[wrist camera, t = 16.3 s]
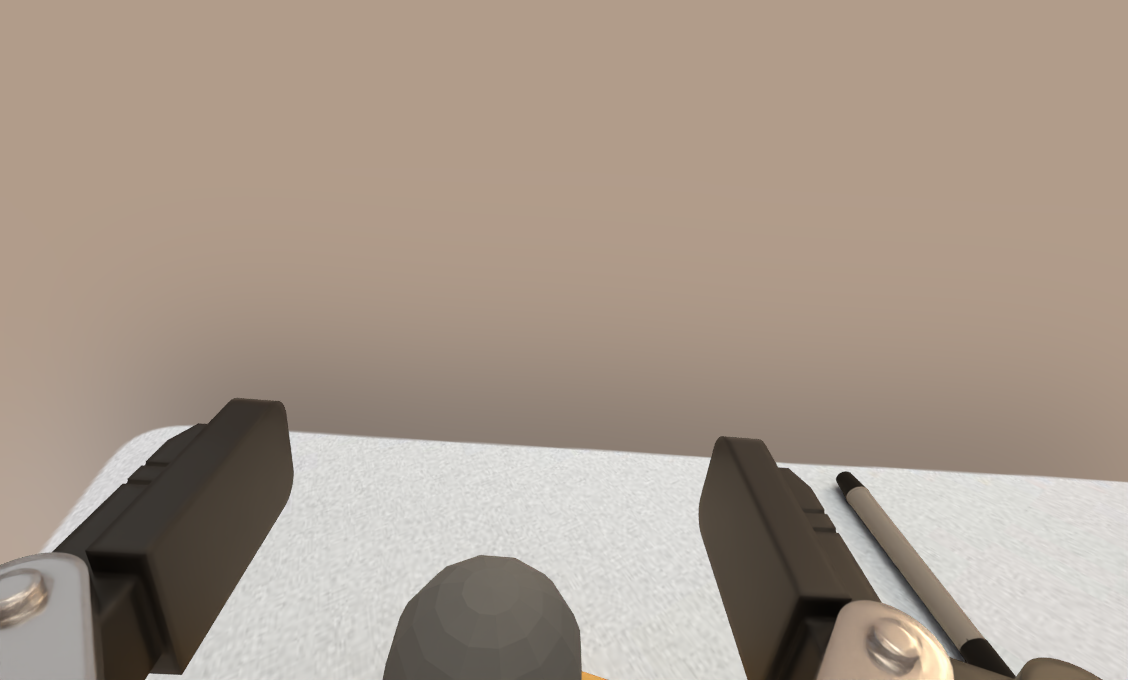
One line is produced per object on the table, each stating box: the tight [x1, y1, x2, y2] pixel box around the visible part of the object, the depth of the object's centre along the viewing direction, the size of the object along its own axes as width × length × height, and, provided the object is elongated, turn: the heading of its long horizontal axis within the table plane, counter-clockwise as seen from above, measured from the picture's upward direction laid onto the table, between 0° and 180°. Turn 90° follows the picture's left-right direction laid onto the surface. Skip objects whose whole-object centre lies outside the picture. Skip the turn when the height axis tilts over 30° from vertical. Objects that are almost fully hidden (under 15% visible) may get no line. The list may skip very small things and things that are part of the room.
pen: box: [836, 471, 1016, 679], centre depth 25 cm, size 1×16×1 cm, turn 3°
